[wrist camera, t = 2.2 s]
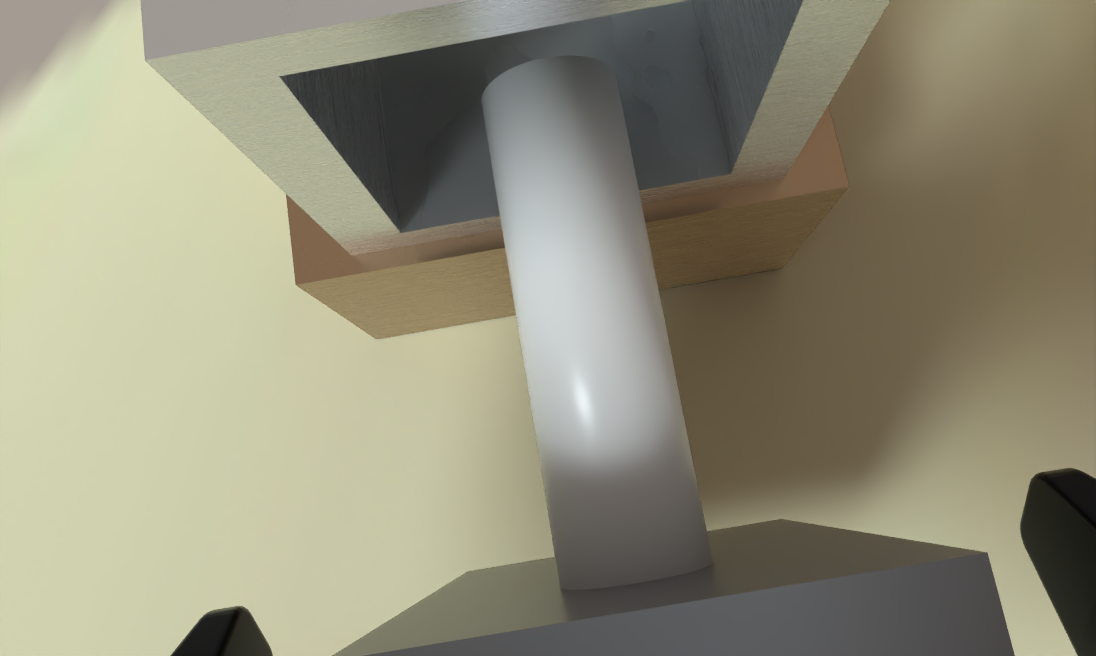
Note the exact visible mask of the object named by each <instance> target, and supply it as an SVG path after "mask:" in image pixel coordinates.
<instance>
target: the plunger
mask: <svg viewBox="0 0 1096 656" xmlns="http://www.w3.org/2000/svg"><path fill="white" fill-rule="evenodd" d="M481 102H482V108H483V114H484V120H485V126H486V132H487V139H488V145H489V151H490V157H491V163H492V169H493V176H494V182H495V188H496V194H497V200H498V207H499V213H500V219H501V225H502V231H503V237H504V244H505V250H506V256H507V262H508V268H509V274H510V281H511V287H512V293H513V299H514V305H515V311H516V318H517V324H518V330H519V336H520V342H521V349H522V355H523V361H524V367H525V373H526V379H527V386H528V392H529V398H530V404H531V410H532V416H533V423H534V429H535V435H536V441H537V447H538V453H539V460H540V466H541V472H542V478H543V484H544V491H545V497H546V503H547V509H548V515H549V521H550V528H551V534H552V540H553V546H554V552H555V557H552V558H546V559H540V560H534V561H528V562H522V563H516V564H510V565H504V566H498V567H492V568H486V569H480V570H474V571H468V572H466V573H464V574H463V575H461V576H460V577H458V578H456V579H455V580H453V581H452V582H450V583H448V584H447V585H445V586H444V587H442V588H440V589H439V590H437V591H436V592H434V593H432V594H431V595H429V596H427V597H426V598H424V599H423V600H421V601H419V602H418V603H416V604H415V605H413V606H411V607H410V608H408V609H407V610H405V611H403V612H402V613H400V614H399V615H397V616H395V617H394V618H392V619H391V620H389V621H387V622H386V623H384V624H382V625H381V626H379V627H378V628H376V629H374V630H373V631H371V632H370V633H368V634H366V635H365V636H363V637H362V638H360V639H358V640H357V641H355V642H354V643H352V644H350V645H349V646H347V647H345V648H344V649H342V650H341V651H339V652H337V653H336V654H334V655H333V656H1015V655H1014V651H1013V648H1012V644H1011V640H1010V636H1009V632H1008V629H1007V625H1006V621H1005V617H1004V613H1003V610H1002V606H1001V602H1000V598H999V595H998V591H997V587H996V583H995V579H994V576H993V572H992V568H991V564H990V561H989V557H988V553H987V552H981V551H975V550H969V549H962V548H956V547H950V546H944V545H938V544H932V543H925V542H919V541H913V540H907V539H901V538H895V537H888V536H882V535H876V534H870V533H864V532H858V531H852V530H845V529H839V528H833V527H827V526H821V525H815V524H808V523H802V522H796V521H790V520H784V519H779V520H773V521H767V522H761V523H755V524H749V525H743V526H737V527H731V528H725V529H719V530H713V531H707V530H706V525H705V520H704V515H703V510H702V505H701V500H700V495H699V490H698V485H697V480H696V475H695V470H694V465H693V460H692V455H691V450H690V445H689V440H688V435H687V430H686V425H685V420H684V415H683V410H682V405H681V400H680V395H679V390H678V385H677V380H676V375H675V370H674V364H673V359H672V354H671V349H670V344H669V339H668V334H667V329H666V324H665V319H664V314H663V309H662V304H661V299H660V294H659V289H658V284H657V279H656V274H655V269H654V264H653V259H652V254H651V249H650V244H649V239H648V234H647V229H646V224H645V219H644V214H643V209H642V204H641V199H640V194H639V189H638V184H637V179H636V174H635V169H634V164H633V158H632V153H631V148H630V143H629V138H628V133H627V128H626V123H625V118H624V113H623V108H622V103H621V98H620V93H619V88H618V83H617V78H616V75H615V72H614V71H613V69H612V68H611V67H610V66H609V65H607V64H605V63H604V62H602V61H599V60H597V59H593V58H589V57H583V56H554V57H547V58H542V59H537V60H533V61H530V62H526V63H524V64H521V65H518V66H516V67H514V68H511V69H509V70H508V71H506V72H504V73H502V74H501V75H499V76H498V77H496V78H495V79H494V80H493V81H492V82H491V83H490V84H489V85H488V86H487V87H486V89H485V90H484V92H483V95H482V100H481Z"/></svg>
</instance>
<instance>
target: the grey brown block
mask: <svg viewBox="0 0 1096 656" xmlns="http://www.w3.org/2000/svg"><path fill="white" fill-rule="evenodd" d="M889 2H890V0H141V12H142V26H143V39H144V53H145V61H146V62H147V63H148V64H149V65H150V66H151V67H153V68H154V69H155V70H156V71H157V72H158V73H159V74H160V75H161V76H162V77H163V78H164V79H165V80H166V81H167V82H168V83H169V84H171V85H172V86H173V87H174V88H175V89H176V90H177V91H178V92H179V93H180V94H181V95H182V96H183V97H184V98H185V99H186V100H187V101H189V102H190V103H191V104H192V105H193V106H194V107H195V108H196V109H197V110H198V111H199V112H200V113H201V114H202V115H203V116H204V117H205V118H207V119H208V120H209V121H210V122H211V123H212V124H213V125H214V126H215V127H216V128H217V129H218V130H219V131H220V132H221V133H222V134H223V135H225V136H226V137H227V138H228V139H229V140H230V141H231V142H232V143H233V144H234V145H235V146H236V147H237V148H238V149H239V150H240V151H241V152H243V153H244V154H245V155H246V156H247V157H248V158H249V159H250V160H251V161H252V162H253V163H254V164H255V165H256V166H257V167H258V168H259V169H261V170H262V171H263V172H264V173H265V174H266V175H267V176H268V177H269V178H270V179H271V180H272V181H273V182H274V183H275V184H276V185H277V186H279V187H280V188H281V189H282V190H283V191H284V192H285V193H286V198H287V208H288V217H289V226H290V236H291V245H292V254H293V263H294V273H295V282H296V285H297V286H298V287H300V288H301V289H303V290H304V291H305V292H307V293H308V294H310V295H311V296H313V297H314V298H316V299H317V300H319V301H320V302H322V303H323V304H325V305H326V306H328V307H329V308H331V309H332V310H334V311H335V312H337V313H338V314H340V315H341V316H343V317H344V318H346V319H347V320H349V321H350V322H351V323H353V324H354V325H356V326H357V327H359V328H360V329H362V330H363V331H365V332H366V333H368V334H369V335H371V336H372V337H374V338H375V339H381V338H387V337H393V336H398V335H404V334H410V333H415V332H421V331H427V330H433V329H438V328H444V327H450V326H455V325H461V324H467V323H472V322H478V321H484V320H489V319H495V318H501V317H506V316H512V315H516V311H515V305H514V299H513V293H512V287H511V281H510V274H509V268H508V262H507V256H506V250H505V244H504V237H503V231H502V225H501V219H500V213H499V207H498V200H497V194H496V188H495V182H494V176H493V169H492V163H491V157H490V151H489V145H488V139H487V132H486V126H485V120H484V114H483V108H482V102H481V100H482V95H483V92H484V90H485V89H486V87H487V86H488V85H489V84H490V83H491V82H492V81H493V80H494V79H495V78H496V77H498V76H499V75H501V74H502V73H504V72H506V71H508V70H509V69H511V68H514V67H516V66H518V65H521V64H524V63H526V62H530V61H533V60H537V59H542V58H547V57H554V56H583V57H589V58H593V59H597V60H599V61H602V62H604V63H605V64H607V65H609V66H610V67H611V68H612V69H613V71H614V72H615V75H616V78H617V83H618V88H619V93H620V98H621V103H622V108H623V113H624V118H625V123H626V128H627V133H628V138H629V143H630V148H631V153H632V158H633V164H634V169H635V174H636V179H637V184H638V189H639V194H640V199H641V204H642V209H643V214H644V219H645V224H646V229H647V234H648V239H649V244H650V249H651V254H652V259H653V264H654V269H655V274H656V279H657V284H658V289H659V290H660V289H666V288H671V287H677V286H683V285H688V284H694V283H700V282H706V281H711V280H717V279H723V278H728V277H734V276H740V275H745V274H751V273H757V272H762V271H768V270H774V269H779V268H782V267H783V266H784V265H785V264H786V263H787V261H788V260H789V259H790V258H791V256H792V255H793V254H794V253H795V252H796V250H797V249H798V248H799V247H800V246H801V244H802V243H803V242H804V241H805V239H806V238H807V237H808V236H809V235H810V233H811V232H812V231H813V230H814V229H815V227H816V226H817V225H818V224H819V222H820V221H821V220H822V219H823V218H824V216H825V215H826V214H827V213H828V212H829V210H830V209H831V208H832V207H833V205H834V204H835V203H836V202H837V201H838V199H839V198H840V197H841V196H842V195H843V193H844V192H845V191H846V190H847V189H848V187H849V183H848V179H847V175H846V172H845V168H844V164H843V160H842V156H841V152H840V148H839V144H838V140H837V136H836V132H835V128H834V124H833V120H832V116H831V112H830V108H829V105H828V104H829V103H830V101H831V99H832V98H833V96H834V94H835V93H836V91H837V89H838V88H839V86H840V84H841V82H842V81H843V79H844V77H845V76H846V74H847V72H848V71H849V69H850V67H851V66H852V64H853V62H854V61H855V59H856V57H857V56H858V54H859V52H860V51H861V49H862V47H863V45H864V44H865V42H866V40H867V39H868V37H869V35H870V34H871V32H872V30H873V29H874V27H875V25H876V24H877V22H878V20H879V19H880V17H881V15H882V14H883V12H884V10H885V8H886V7H887V5H888V3H889Z"/></svg>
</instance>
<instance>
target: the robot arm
mask: <svg viewBox="0 0 1096 656" xmlns="http://www.w3.org/2000/svg"><path fill="white" fill-rule="evenodd" d="M1020 532H1021V537H1022V540H1023V544H1024V546H1025V548H1026V550H1027V552H1028V554H1029V556H1030V559H1031V561H1032V563H1033V565H1034V567H1035V569H1036V571H1037V573H1038V575H1039V577H1040V579H1041V581H1042V583H1043V585H1044V587H1045V589H1046V592H1047V594H1048V596H1049V598H1050V600H1051V602H1052V604H1053V606H1054V608H1055V610H1056V612H1057V614H1058V616H1059V618H1060V620H1061V623H1062V625H1063V627H1064V629H1065V631H1066V633H1067V635H1068V637H1069V639H1070V641H1071V643H1072V645H1073V647H1074V649H1075V651H1076V653H1077V655H1078V656H1096V479H1095V478H1093V477H1092V476H1090V475H1088V474H1086V473H1084V472H1082V471H1080V470H1077V469H1072V468H1065V469H1059V470H1053V471H1047V472H1041V473H1038V474H1036V475H1035V476H1034V477H1033V478H1032V479H1031V482H1030V485H1029V489H1028V493H1027V497H1026V502H1025V506H1024V510H1023V514H1022V518H1021V524H1020ZM170 656H273V654H272V651H271V648H270V646H269V644H268V642H267V641H266V639H265V637H264V636H263V634H262V632H261V630H260V629H259V627H258V625H257V623H256V622H255V620H254V618H253V616H252V615H251V613H250V612H249V610H248V609H246V608H245V607H243V606H235V607H229V608H223V609H217V610H213V611H210V612H208V613H206V614H205V615H204V616H203V617H202V618H201V619H200V620H199V621H198V622H197V624H196V625H195V626H194V627H193V629H192V630H191V631H190V632H189V633H188V635H187V636H186V637H185V638H184V640H183V641H182V642H181V643H180V644H179V646H178V647H177V648H176V649H175V651H174V652H173V653H172V654H171V655H170Z"/></svg>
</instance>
